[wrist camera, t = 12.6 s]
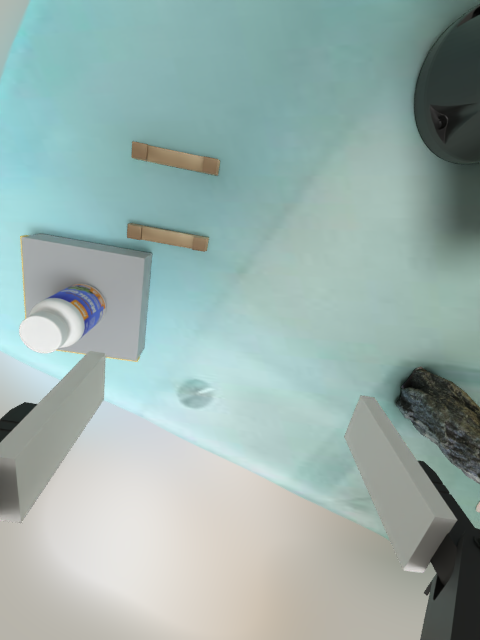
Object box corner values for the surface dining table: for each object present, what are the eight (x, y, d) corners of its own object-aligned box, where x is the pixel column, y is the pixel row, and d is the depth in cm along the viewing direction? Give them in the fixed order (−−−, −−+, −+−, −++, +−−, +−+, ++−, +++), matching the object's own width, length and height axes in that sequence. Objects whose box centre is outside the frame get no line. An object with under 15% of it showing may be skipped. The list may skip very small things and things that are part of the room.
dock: (39, 232, 39) (19, 236, 36) (152, 252, 41) (145, 258, 37) (43, 334, 44) (26, 346, 41) (144, 349, 46) (137, 362, 42)
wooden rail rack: (135, 143, 36) (130, 140, 35) (220, 161, 37) (219, 159, 36) (129, 235, 40) (125, 237, 38) (207, 249, 41) (206, 251, 39)
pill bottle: (114, 297, 39) (79, 327, 30) (96, 331, 40) (57, 369, 31) (73, 274, 37) (22, 297, 28) (55, 309, 39) (2, 342, 30)
